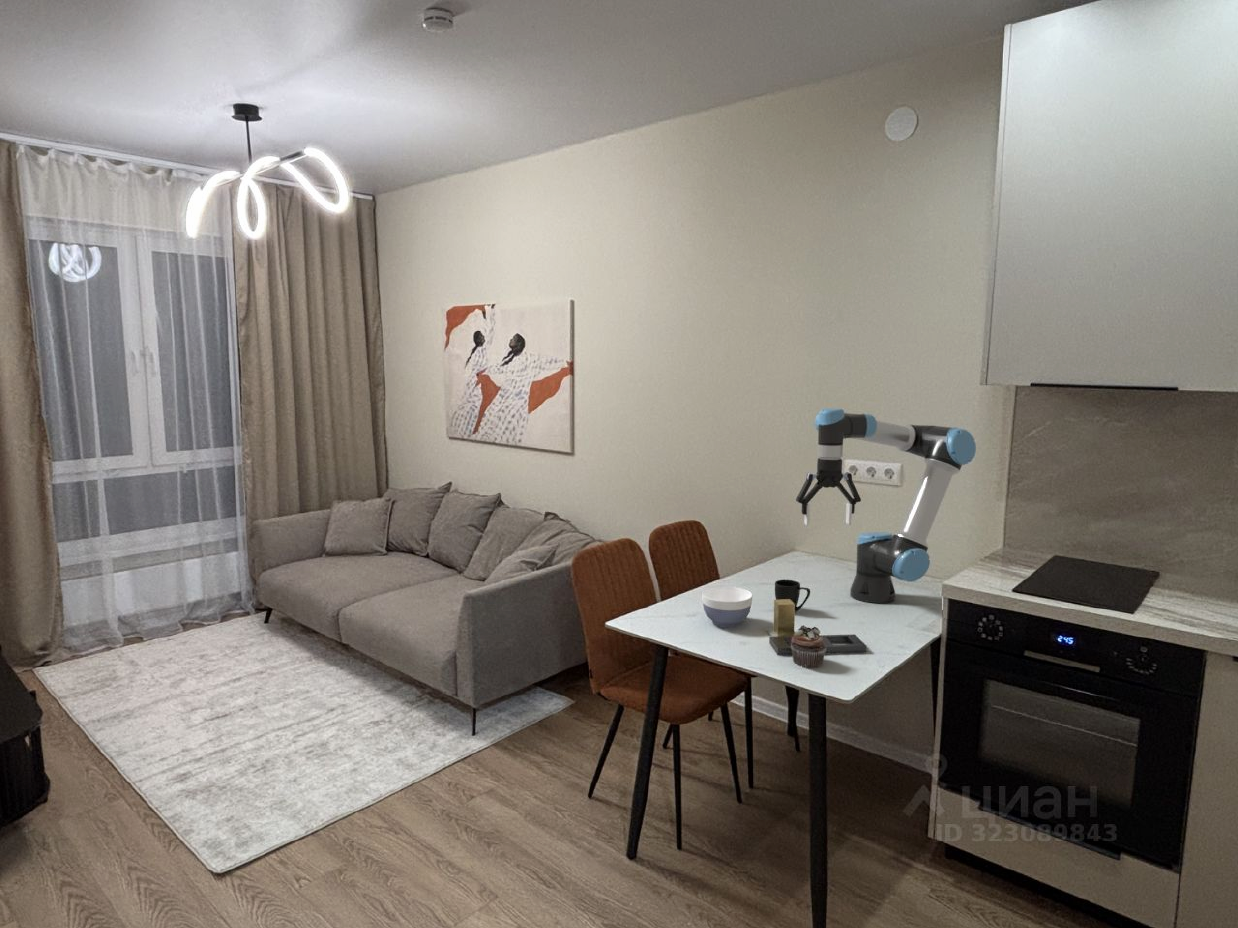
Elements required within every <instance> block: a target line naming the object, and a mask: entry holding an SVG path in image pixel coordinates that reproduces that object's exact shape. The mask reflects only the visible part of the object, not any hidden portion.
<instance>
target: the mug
mask: <svg viewBox="0 0 1238 928" xmlns="http://www.w3.org/2000/svg"><path fill="white" fill-rule="evenodd" d="M802 590H803V591H806V596H805V598H804V600H803V601H802V603H800V605H798V602H799V600H800V599H799V598H800V592H801V591H802ZM810 595H811V589H810V588H809V587H802V586H801V583H800V582H799V581H796V580H793V579H779V580H778V579H777V580H776V581H775V582H774V597H775V600H780V599H790V600H791V601H792V602H793V603H794V604H795V612H798V611H800V609H801V608H802V607H803V606H804V605H805V604H806V602H807V600H808V599H809V597H810Z"/></svg>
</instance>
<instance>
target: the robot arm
mask: <svg viewBox="0 0 1238 928" xmlns="http://www.w3.org/2000/svg"><path fill="white" fill-rule="evenodd" d="M814 427H815V429H816V430H817V432H818V435H817V437H818V438H817V441H818V443H817V457H818V458H817V463H816V464H817V466H816V473H811V472H807V474H806V479H805V481H804V483H803V485H802V487H801V489H800V491H799V493H798V495H797V496H796V498H795V501H796V502H797V503H799V504H801V515H804V519H803V524H804V525H805V526H810V512H811V511H810V507H811V506H810V504H809V503H810V501H811V500H812V499H813V498H814V497H815V495H816V494H817V493H818V492H820V490H821V489H822V488H825V489H827V488H832V489H833V488H837V489H838V490H839V491H840V492H841V494H842V495H843V496H844V497H845V499H846V500H847V501H848V502H846V504H845V505H846V507H845V509H846V510H845V523H846V524H847V525H852V515H853V514H855V510H856V506H855V505H856V504H857V503H860V502H861V501H862V499H861V497H860V495H859V492H858V490H857V488H856V486H855V483H854V481H853V475H852V473H850V472H845V473H843V459H842V457H843V453H844V452H843V451H844V450H843V448H844V440H845V439H854V440H860V441H864V442H869V443H873V444H874V443H875V444H880V445H884V446H889V447H894V448H896V449H897V450H898V451H900V452H906V453H909V454H912V455H915V456H918V457H921V458H924V460H923V461H924V462H925V465H926V467H925V470H924V473H923V474H922V477H921V479H920V481H919V483H918V484H919V485H918V486H917V489H916V491H915V493H914V497H913V498H912V501H911V503H910V506H909V507H908V508H909V509H908V510H907V513H906V516H905V518H904V521H903V523H902V526H901V528H900V529H899V531H897V532H895V533H893V534H892V532H891V533H890V532H884V531H883V532H881V531H879V532H877V531H876V532H873V531H872V532H864V533H861V534H859V535H858V537H857V543H856V569H855V570H856V573H855V576H854V578H853V581H852V584H851V585H850V586H851V587H850V590H849V592H850V593H849V595H850V597H852V598H853V599H855V600H857V601H860V602H864V603H870V604H871V603H873V604H888V603H892V602H894V601H895V600H896V590H895V587H894V583H893V580H892V577H894V578H895V579H898V580H899V581H904V582H909V583H910V582H915V581H918V580H920V579H921V578H923V577H924V576H925V574H926V573H928V570H929V568H930V564H931V560H930V554H929V553H928V552H927V551H928V549H929V545H928V543H927V539H928V536H929V534H930V531H931V529H932V527H933V524H934V521H935V519H936V517H937V514H938V512H939V510H940V507H941V505H942V503H943V500H944V498H945V495H946V492H947V490H948V488H949V485H950V483H951V480H952V478H953V475H956V474H958V473H960V471H961V469H962V466H965V465H968V464H969V463H970V462H972V461H973V460H974V457H975V456H976V452H977V451H976V450H977V443H976V442H975V438H974V436H973V435H972V433H971V432H969V431H968V430H966V429H963V428H959V427H951V426H950V427H948V426H941V425H928V424H927V425H919V424H910V423H904V424H902V425H901V424H900V425H899V424H895V423H890V422H885V421H880V420H877V419H876V417H875V416H874V415H872V414H870V413H858V414H857V413H848V412H845V411H844V409H842V408H822V409H821V410H820V411H819V413H817V414H816V417H815V420H814ZM815 479H816V480H817V482H816V483H814V486H813V487H812V488H811V489H810V487H811V485H812V484H813V483H812V482H813V481H815ZM842 480H845V481H846V484H847V487H848V488H849V491H850V492H851V494H852V495H851V494H850V493H849V491H848V490H847V489H846V488H845V487H844V484H842V482H841V481H842ZM809 489H810V491H809Z"/></svg>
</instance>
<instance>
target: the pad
mask: <svg viewBox="0 0 1238 928" xmlns="http://www.w3.org/2000/svg"><path fill="white" fill-rule="evenodd" d="M773 629H774V628H767V629H766V631H767V633H768V634H769V635H770V636H769V637H778V636H777V635H776V634H775V632H774V631H773ZM795 632H796V631H795V630H794V634H795Z"/></svg>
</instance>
